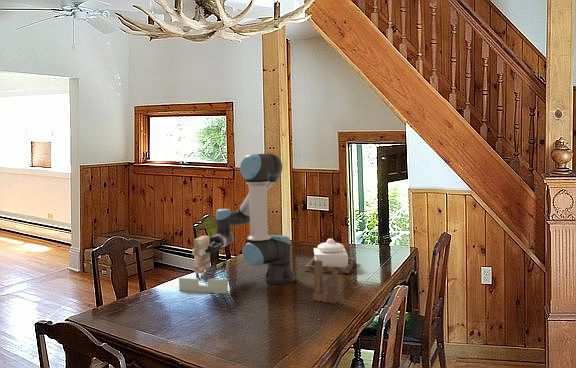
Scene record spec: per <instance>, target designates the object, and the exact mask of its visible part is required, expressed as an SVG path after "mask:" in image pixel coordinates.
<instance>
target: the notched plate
mask: <svg viewBox="0 0 576 368" xmlns="http://www.w3.org/2000/svg"><path fill="white" fill-rule="evenodd" d="M209 238H210V235H201V236H199V237H196V238H195V239H193V249H194V255H193V256H194V274H201V275H202V274H204V273H205V271H209V270H210V269H211V252H210V253H209V252H208V253H206V254H204V255H203V256H201V249H203V248H205V247H208V246H210V240H209Z"/></svg>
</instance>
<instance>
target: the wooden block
mask: <svg viewBox="0 0 576 368" xmlns="http://www.w3.org/2000/svg"><path fill="white" fill-rule="evenodd" d="M313 266H314V272H313V273H314V292H313V293H312V301H313V300H316V301H315V302H320V301H322V302H321V303H328V302H330V303H329V304H333V303H335V304H337V303H338V302H339V273H338V271H336V272H334V273H331V275H330V276H329V277H327V279H325V281H324V280H323V272H322V261H321V260H316V261H314V265H313ZM323 287H325V288H327V292H326V291H325V292H324V291H323V289H324V288H323ZM337 301H338V302H337ZM336 302H337V303H336Z"/></svg>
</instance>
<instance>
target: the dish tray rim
mask: <svg viewBox="0 0 576 368" xmlns="http://www.w3.org/2000/svg"><path fill="white" fill-rule="evenodd" d="M314 261H315V255H314V256H313V257H312V258H311V259H310V260H309V261H308V262H307V263H306V264H305V265H304V272H306V271H314ZM348 263H349V264H348V266H347V267H329V266H322V273H325V272H336V271H338V274H344V273H349V272H350V273H351V271H352V270H353V268H354V267H355V265H356V264H357V263H356V257H355V258H354V257H348ZM355 263H356V264H355ZM354 264H355V265H354ZM353 266H354V267H353ZM352 267H353V268H352ZM351 269H352V270H351ZM350 270H351V271H350ZM350 273H349V274H350Z"/></svg>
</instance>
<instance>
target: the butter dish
mask: <svg viewBox="0 0 576 368" xmlns="http://www.w3.org/2000/svg"><path fill="white" fill-rule="evenodd" d="M313 253H314V254H313V255H314V256H315V261H316V260H321V261H322V266H329V267H347V266H348V258H349V255H348V252H347V250H346V248H345V246H344V244H342V243H340V242H336V241H335V240H334V239H333V238H328V239H327V240H326V241H325V242H322V243H319V244H318V245H317V247H313Z"/></svg>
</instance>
